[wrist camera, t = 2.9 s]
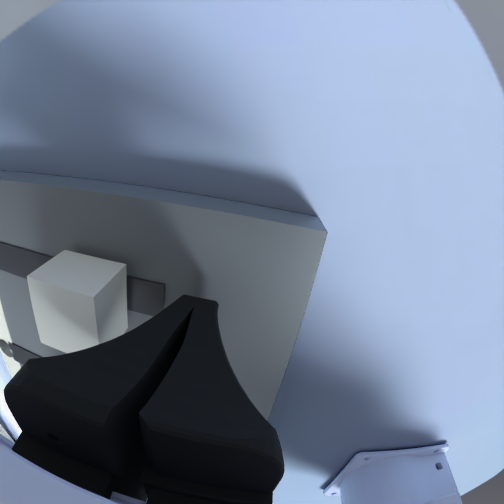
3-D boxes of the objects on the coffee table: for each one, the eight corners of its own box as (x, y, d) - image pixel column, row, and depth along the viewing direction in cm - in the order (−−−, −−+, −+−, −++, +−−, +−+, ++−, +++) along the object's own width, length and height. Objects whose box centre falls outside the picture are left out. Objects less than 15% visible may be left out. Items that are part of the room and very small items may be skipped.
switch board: (319, 217, 12) (328, 233, 10) (239, 474, 20) (237, 495, 18) (-9, 169, 12) (-34, 177, 10) (46, 415, 20) (36, 431, 18)
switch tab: (126, 264, 11) (93, 297, 9) (128, 327, 12) (102, 366, 10) (64, 249, 11) (26, 276, 8) (71, 310, 12) (41, 342, 10)
